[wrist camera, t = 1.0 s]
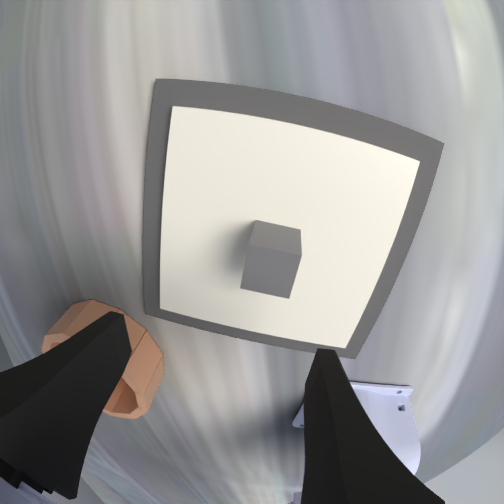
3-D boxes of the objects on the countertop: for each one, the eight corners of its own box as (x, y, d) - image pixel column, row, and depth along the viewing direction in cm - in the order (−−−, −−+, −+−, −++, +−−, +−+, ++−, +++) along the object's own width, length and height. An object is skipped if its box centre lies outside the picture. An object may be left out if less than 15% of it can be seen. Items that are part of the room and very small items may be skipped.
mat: (440, 142, 13) (444, 143, 13) (354, 354, 21) (355, 359, 20) (159, 79, 14) (155, 78, 13) (147, 309, 21) (144, 313, 21)
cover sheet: (415, 159, 14) (445, 174, 10) (344, 342, 20) (349, 381, 16) (176, 106, 14) (146, 106, 11) (163, 303, 20) (142, 337, 17)
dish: (162, 321, 22) (139, 363, 18) (165, 395, 26) (151, 430, 22) (58, 287, 22) (28, 317, 18) (80, 362, 27) (60, 391, 23)
